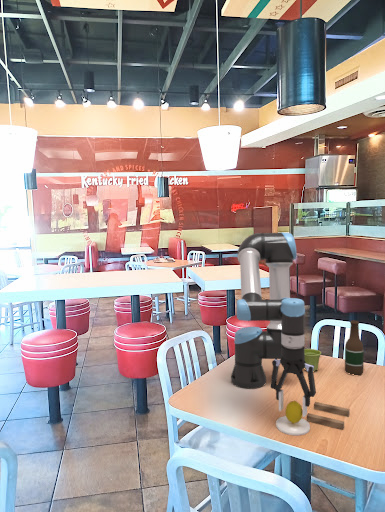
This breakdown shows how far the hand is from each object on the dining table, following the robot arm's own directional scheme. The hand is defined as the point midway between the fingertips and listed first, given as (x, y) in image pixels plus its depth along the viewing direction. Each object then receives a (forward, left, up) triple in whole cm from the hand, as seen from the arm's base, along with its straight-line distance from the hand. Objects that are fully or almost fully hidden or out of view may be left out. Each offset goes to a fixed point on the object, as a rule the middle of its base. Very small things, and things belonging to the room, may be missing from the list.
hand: (292, 412), depth 131 cm
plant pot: (-8, +54, -5) cm, 55 cm away
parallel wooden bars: (+9, +12, -5) cm, 16 cm away
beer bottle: (+10, +60, -5) cm, 61 cm away
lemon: (0, 0, -4) cm, 4 cm away
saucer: (0, 0, -5) cm, 5 cm away
